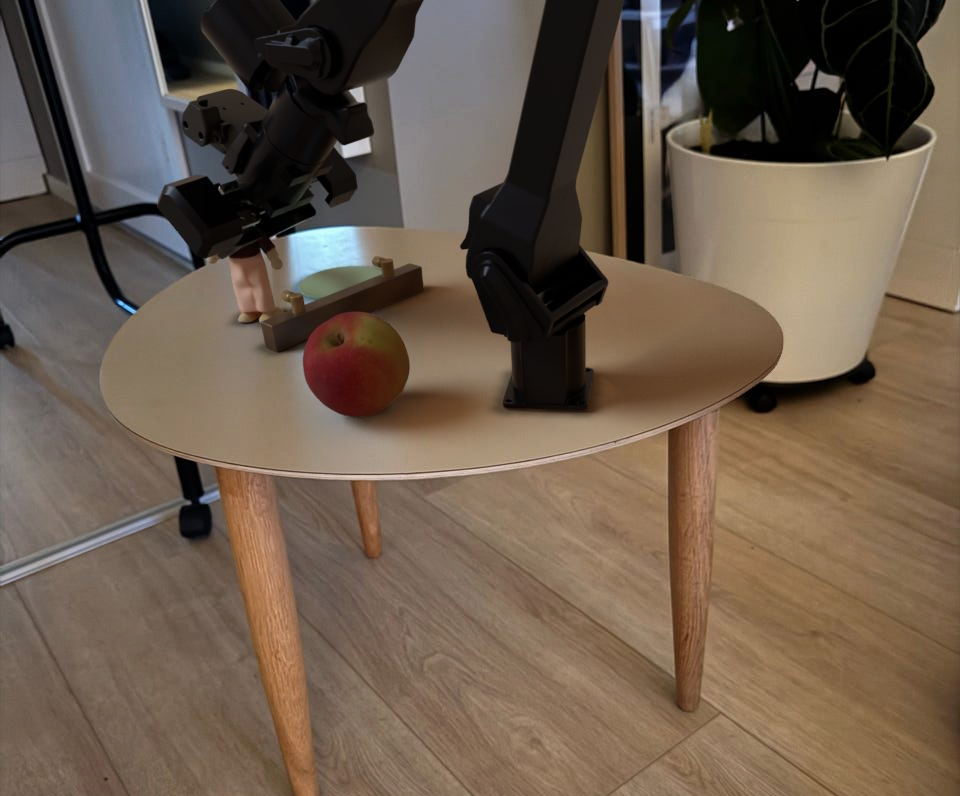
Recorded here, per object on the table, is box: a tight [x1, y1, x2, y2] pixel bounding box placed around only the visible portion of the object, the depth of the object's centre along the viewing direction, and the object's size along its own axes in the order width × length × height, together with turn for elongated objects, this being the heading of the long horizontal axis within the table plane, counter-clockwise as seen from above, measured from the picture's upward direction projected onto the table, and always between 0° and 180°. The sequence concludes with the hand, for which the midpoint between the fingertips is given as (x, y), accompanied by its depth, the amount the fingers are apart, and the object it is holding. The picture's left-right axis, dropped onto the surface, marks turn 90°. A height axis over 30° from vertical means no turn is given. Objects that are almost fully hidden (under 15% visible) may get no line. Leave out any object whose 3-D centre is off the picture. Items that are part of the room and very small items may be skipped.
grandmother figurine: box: [206, 226, 285, 324], centre depth 88 cm, size 8×4×13 cm, turn 84°
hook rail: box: [260, 255, 425, 353], centre depth 92 cm, size 19×13×4 cm
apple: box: [302, 312, 411, 418], centre depth 71 cm, size 8×8×8 cm
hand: (232, 249), depth 88 cm, fingers closed on grandmother figurine, 3 cm apart
